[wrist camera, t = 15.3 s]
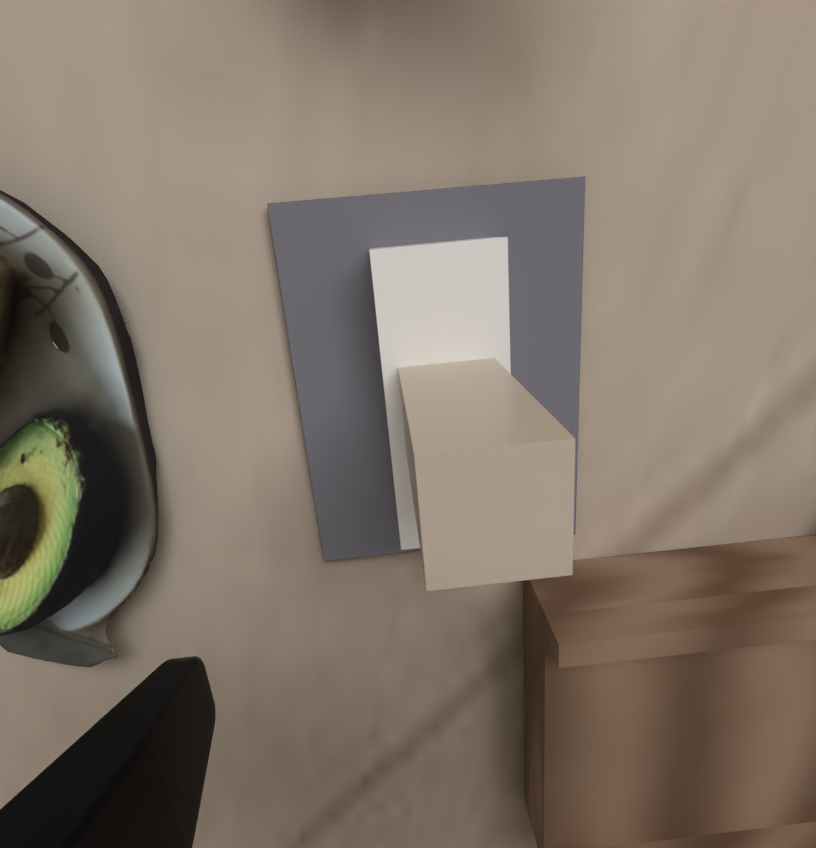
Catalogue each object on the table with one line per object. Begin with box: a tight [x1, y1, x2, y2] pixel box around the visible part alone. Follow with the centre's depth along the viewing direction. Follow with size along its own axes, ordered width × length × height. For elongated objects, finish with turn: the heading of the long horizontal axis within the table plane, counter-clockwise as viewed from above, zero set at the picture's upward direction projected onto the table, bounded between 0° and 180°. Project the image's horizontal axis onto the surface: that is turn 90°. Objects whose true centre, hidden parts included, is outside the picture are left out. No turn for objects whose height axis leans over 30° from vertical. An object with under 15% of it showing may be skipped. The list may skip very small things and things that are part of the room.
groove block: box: [523, 535, 816, 848], centre depth 22 cm, size 13×14×4 cm
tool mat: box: [267, 177, 585, 561], centre depth 19 cm, size 10×13×1 cm
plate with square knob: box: [369, 237, 575, 591], centre depth 14 cm, size 4×10×9 cm, turn 5°
